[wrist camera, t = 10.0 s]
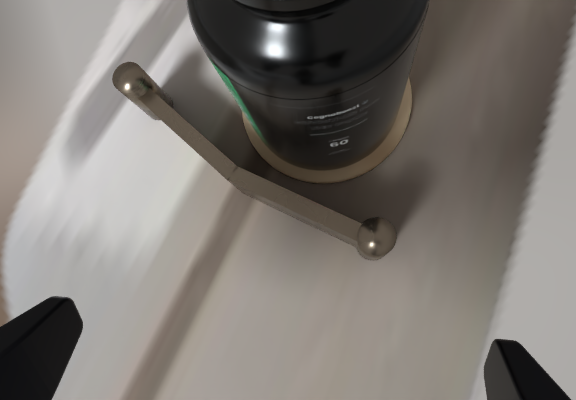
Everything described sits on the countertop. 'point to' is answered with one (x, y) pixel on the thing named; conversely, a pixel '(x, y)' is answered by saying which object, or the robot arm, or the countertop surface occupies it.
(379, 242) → the bent rail
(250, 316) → the countertop surface
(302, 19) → the supplement bottle
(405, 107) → the cork coaster
